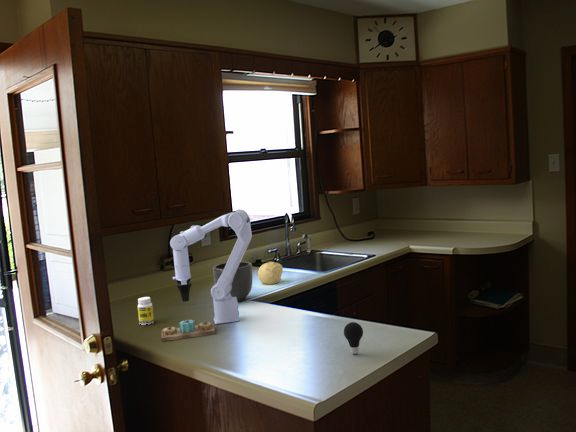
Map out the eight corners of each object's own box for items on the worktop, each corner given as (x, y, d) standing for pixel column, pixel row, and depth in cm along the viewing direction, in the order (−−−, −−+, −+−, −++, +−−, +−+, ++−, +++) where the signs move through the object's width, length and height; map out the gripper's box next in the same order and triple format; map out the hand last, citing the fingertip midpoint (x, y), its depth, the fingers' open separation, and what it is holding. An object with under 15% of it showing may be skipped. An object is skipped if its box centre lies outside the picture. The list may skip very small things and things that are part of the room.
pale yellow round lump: (275, 286, 265) (273, 264, 264) (254, 285, 272) (252, 263, 270) (287, 280, 275) (285, 259, 274) (266, 279, 281) (265, 259, 280)
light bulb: (362, 350, 171) (360, 319, 169) (366, 357, 165) (363, 324, 164) (344, 351, 170) (341, 320, 169) (346, 358, 165) (344, 326, 164)
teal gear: (194, 327, 205) (193, 318, 205) (195, 331, 200) (194, 322, 200) (179, 329, 204) (179, 320, 204) (180, 333, 199) (179, 325, 198)
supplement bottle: (139, 326, 217) (136, 301, 216) (139, 322, 222) (136, 297, 221) (154, 323, 218) (151, 298, 217) (154, 320, 224) (151, 295, 223)
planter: (210, 306, 238) (206, 270, 237) (224, 295, 255) (220, 261, 253) (247, 305, 234) (244, 268, 233) (259, 295, 251) (256, 260, 249)
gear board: (212, 325, 209) (211, 313, 208) (215, 333, 199) (213, 320, 199) (161, 333, 205) (160, 320, 204) (161, 341, 195) (160, 328, 195)
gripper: (171, 263, 221) (174, 296, 222) (171, 269, 206) (175, 304, 208) (189, 261, 222) (192, 293, 223) (190, 267, 208) (194, 302, 209)
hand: (185, 298), depth 216 cm, fingers open, 7 cm apart
